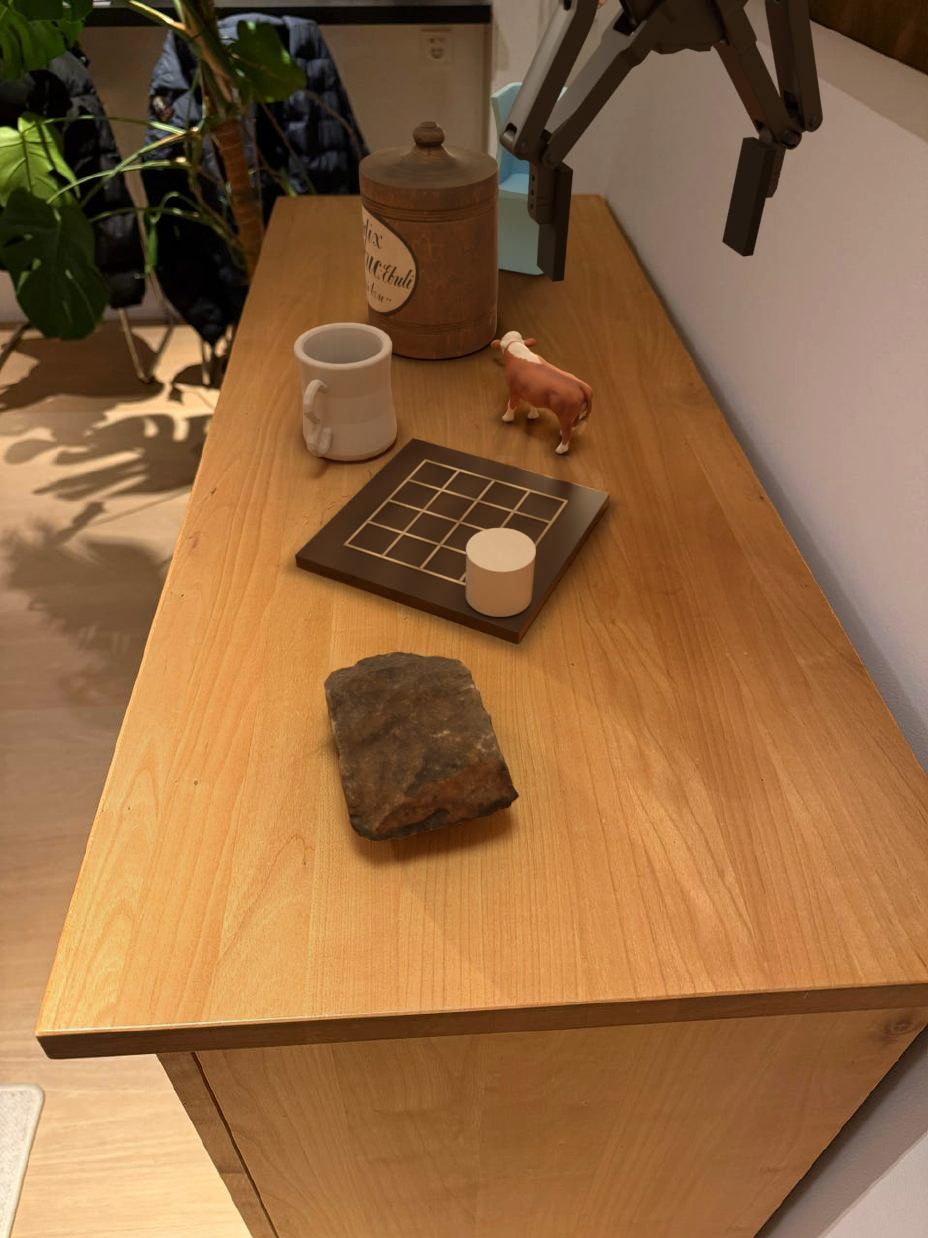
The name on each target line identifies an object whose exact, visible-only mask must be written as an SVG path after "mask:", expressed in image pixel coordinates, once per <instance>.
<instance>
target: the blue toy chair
mask: <svg viewBox="0 0 928 1238" xmlns="http://www.w3.org/2000/svg"><path fill="white" fill-rule="evenodd" d="M522 83H523V81H517V82H516V81H515V82H510V83H508V84H507V85H505V86H503V87H502V88H501V89H499V90H498V91H496V92H494V93H493V94H492V95H490V97H489V98H490V103H491V107H492V111H493V116H494V121H495V129H496V144H497V145H496V154H495V158H494V159H495V160H496V161H497V162H498V165H499V198H498V270H504V271H509V272H510V271H511V272H516V273H522V274H527V275H534V276H535V275H536V276H537V275H542V274H544V273H543V272H542V270H541V269H540V268H539V267H538V266H537V251H538V236H539V225H538V224H537V223H536V222H535V221H534V220H533V219H532V218H531V217H530V216H529V213H528V210H527V202H528V184H529V162H528V161H526V160H523V161H522V160H518V159H517V158H516V157H515V156H513V155H512V154H511V153H510V152H509V151H507V150H506V149H505V148H504V147H503V146H502V145H501V144H500V141H499V135H500V132H501V130H502V128H503V125H504V123H505V121H506V119H507V116H508V114H509V112H510V110H511V107H512V105H513V103H514V101H515V98H516V96H517V94H518V92H519V89H520V87H521V85H522ZM567 88H568V86H564V87H563V89H562V91H561V94H560V96H559V98H558V100H557V102H558V101H559V99H560V98H561V96H562V95H563V94H564V92H565V91H566V90H567ZM557 102H556V103H557ZM555 105H556V104H555ZM562 162H564V160H563V161H562Z"/></svg>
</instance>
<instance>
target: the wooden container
mask: <svg viewBox="0 0 928 1238" xmlns="http://www.w3.org/2000/svg"><path fill="white" fill-rule="evenodd" d="M446 132H447V131H446V130H445V129H444V127H443V126H441V125H440V124H438V123H437V122H436V121H434V120H424V121H421V122H420V123H419V124H418V125H417V126H415V127H414V128H413V130H412V138H413V141H414V144H411V145H401V146H395V147H389V148H384V149H381V150H378V151H376V152H373V153H370V154H368V155H367V156H365V157H364V158H363V159H362V160H361V161H360V162H359V165H358V179H359V180H358V181H359V191H360V192H359V193H360V200H361V209H362V210H361V212H362V213H361V214H362V215H361V216H362V231H363V251H364V252H363V253H364V257H363V258H364V271H365V272H364V274H365V275H364V276H365V288H366V300H367V310H368V325H369V326H373V327H376V328H378V329H380V330H382V331H383V332H385V333H386V334H387V335H388V336H389V337H390V339H391V341H392V354H396V355H399V356H404V357H407V358H414V359H420V360H421V359H422V360H443V359H451V358H458V357H462V356H466V355H469V354H471V353H472V354H473V353H475V352H477V351H479V350H481V349H483V348H484V347H486V346H488V345H489V344H491V343H492V342H493V340H494V338H495V337H496V333H497V325H498V324H497V323H498V297H499V295H498V294H499V269H498V198H499V165H498V162H497V161H496V160H495V159H496V158H494V157H493V156H492V155H490V154H489V153H487V152H484V151H481V150H478V149H474V148H469V147H463V146H458V145H448V144H447V145H446V144H444V143H445V140H446V137H447V133H446Z"/></svg>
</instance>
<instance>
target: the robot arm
mask: <svg viewBox="0 0 928 1238" xmlns="http://www.w3.org/2000/svg"><path fill="white" fill-rule="evenodd" d="M607 1H608V0H558V1H557V4H556V6H555V8H554V10H553V13H552V15H551V17H550V20H549V22H548V24H547V26H546V29H545V31H544V33H543V34H542V35H543V36H542V38H541V39H540V42H539V44H538V46H537V49H536V51H535V53H534V56H533V58H532V60H531V62H530V65H529V67H528V70H527V71H526V74H525V76H524V78H523V80H522V82H523V83H522V85H521V87H520V89H519V92H518V94H517V96H516V98H515V101H514V103H513V105H512V107H511V110H510V112H509V114H508V116H507V119H506V121H505V123H504V125H503V128H502V130H501V132H500V135H499V141H500V144H501V145H502V146H503V147H504V148H505V149H506V150H507V151H509V152H510V153H511V154H512V155H513V156H515V157H516V158H517V159H518V160H522V161H523V160H526V161H528V162H529V184H528V202H527V210H528V213H529V216H530V217H531V218H532V219H533V220H534V221H535V222H536V223H537V224H538V225H539V236H538V251H537V266H538V267H539V268H540V269H541V270H542V272H543V274H544V275H545V276H546V277H547V278H548V279H549V280H550V281H551V282H552V283H556V282H563V281H565V270H566V260H567V248H568V238H569V237H568V236H569V225H570V214H571V203H572V202H571V201H572V192H573V191H572V190H573V180H574V179H573V178H574V169H573V168H571V167H570V166H569V165H568V164H566V163H565V162H564V159H565V158H566V157H567V156H568V154H569V153H570V152H571V151H572V149H573V148H574V147H575V145H576V143H577V142H578V141H579V140H580V138H582V136H583V135H584V133H585V132H586V130H587V129H588V128H589V126H590V125H591V124H592V122H593V121H594V119H596V117H597V116H598V114H599V113H600V112H601V110H603V108H604V106H605V105H606V104H607V103H608V101H609V100H610V99H611V98H612V96H613V94H615V92H616V90H617V89H618V88H619V87H620V85H621V84H622V83H623V81H624V80H625V79H626V78H627V76H628V75H629V73H630V72H631V71H632V70H633V68H635V67H637V66H640V65H641V64H642V63H643V62H644V61H645V60H646V58H647V57H648V55H649V54H650V53H651V52H655V53H657V54H659V55H663V56H664V55H674V54H676V53H679V52H681V51H684V50H690V51H694V52H697V53H706V52H711V50H712V48H713V49H714V50H715V51H716V52H717V54H718V57H719V59H720V60H721V63H722V64H723V67H724V69H725V70H726V72H727V74H728V76H729V78H730V81H731V83H732V85H733V87H734V89H735V90H736V92H737V95H738V97H739V98H740V101H741V103H742V104H743V107H744V109H745V111H746V113H747V115H748V117H749V119H750V121H751V123H752V125H753V127H754V129H755V131H756V133H757V135H758V138H757V137H755V136H747V137H742V141H741V147H740V152H739V158H738V161H737V167H736V171H735V177H734V181H733V185H732V191H731V196H730V200H729V206H728V209H727V210H728V211H727V216H726V222H725V225H724V230H723V234H722V239H721V242H722V243H723V244H725V245H726V246H727V247H728V248H730V249H732V250H733V251H734V252H736V253H737V254H738V255H740V256H742V257H743V258H745V257H752V256H754V253H755V249H756V244H757V239H758V236H759V231H760V227H761V222H762V217H763V213H764V209H765V205H766V201H767V199H771V198H774V195H775V193H776V192H777V190H778V186H779V182H780V177H781V172H782V168H783V164H784V160H785V156H786V152H787V150H789V151H793V150H795V149H796V148H798V146H799V145H800V144H801V143H802V140H803V139H802V138H803V133H805V132H808V133H814V132H816V131H818V129H819V128H821V126H822V123H823V122H824V121H823V120H824V115H823V114H824V113H823V106H822V100H821V93H820V91H821V90H820V87H819V86H820V85H819V78H818V71H817V70H818V69H817V64H816V55H815V49H814V40H813V34H812V26H811V19H810V12H809V4H808V0H764V10H765V16H766V22H767V28H768V33H769V34H768V35H769V38H770V45H771V51H772V57H773V63H774V70H775V75H776V81H777V87H778V89H777V87H776V85H775V83H774V81H773V78H772V76H771V74H770V72H769V70H768V67H767V66H766V63H765V61H764V59H763V56H762V55H761V52H760V50H759V48H758V45H757V41H758V37H757V35H756V32H755V30H754V28H753V26H752V24H751V22H750V19H749V17H748V15H747V13H746V11H745V9H744V8H745V6H746V5H747V4H748V2H749V0H618V2H619V4H620V6H621V7H620V9H618V11H617V12H616V14H615V15H614V17H613V18H612V20H611V21H609V23H608V25H607V26H606V28H605V29H604V30H603V32H602V34H601V36H600V43H599V44H598V46H596V48H595V50H594V51H593V52H592V54H591V55H590V57H589V58H588V59H587V61H586V62H585V64H584V65H583V66H582V68H581V69H580V71H579V72H578V73H577V74H576V76H575V77H574V78H573V80H572V81H571V83H570V84H569V85H568V86H567V90H566V91H565V92H564V94H563V95H562V96H561V98H560V99H559V101H558V102H557V100H558V98H559V96H560V94H561V91H562V89H563V87H565V85H566V83H567V81H568V78H569V77H570V74H571V72H572V70H573V68H574V66H575V64H576V62H577V59H578V57H579V55H580V53H581V51H582V49H583V46H584V44H585V42H586V40H587V38H588V35H590V32H591V29H592V26H593V24H594V21H595V18H596V15H597V11H598V10H599V9H600V8H602V7H603V6H604V5H605V4H606V3H607ZM556 102H557V103H556ZM555 104H556V105H555ZM562 161H563V162H562Z"/></svg>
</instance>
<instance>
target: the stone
mask: <svg viewBox="0 0 928 1238" xmlns="http://www.w3.org/2000/svg"><path fill="white" fill-rule="evenodd" d="M323 687H324V691H325V692H324V695H325V702H326V709H327V713H328V717H329V721H330V727H331V733H332V739H333V745H334V749H335V754H336V757H337V759H338V760H339V762H338V770H339V775H340V776H339V777H340V782H341V788H342V792H343V795H344V798H345V805H346V808H347V812H348V817H349V824H350V826H351V829H352V830H353V831H354V832H355V833H356V834H357V836H358V837H361V838H363V839H366V840H367V841H369V842H375V843H379V842H384V841H386V840H399V841H400V840H404V839H405V838H408V837H410V836H413V835H418V834H421V833H425V832H429V831H434V830H439V829H444V828H447V827H449V826H456V825H461V824H463V823H467V822H471V821H474V820H479V819H481V818H488V817H490V816H493V815H494V814H496V813H497V812H499V811H501V810H505V809H510V807H511V806H512V804H513V803H514V802H515V801H516V800H518V798H519V797H520V794H519V792H518V790H517V789H516V788H515V786H514V782H513V778H512V776H511V774H510V769H509V767H508V764H507V763H506V759H505V757H504V755H503V753H502V751H501V749H500V745H499V741H498V739H497V736H496V733H495V729H494V728H493V722H492V716H491V715H490V713H488V712H487V710H486V708H485V706H484V704H483V699H482V695H481V692H480V690H479V689H478V688H477V686H476V683H475V681H474V680H473V676H472V672H471V670H470V669H468V668H467V667H466V666H465V665H464V663H463V662H462V661H461V660H459V659H457V658H449V657H445V656H441V655H420V654H417V653H413V652H403V651H394V652H388V653H383V654H376V655H375V654H374V655H372V656H367V657H364V658H362V659H359V660H357V661H356V663H355V664H354V665H352V666H348V667H341V668H337V669H336V670H333V671H331V672H330V673H329V675H328V676H327V677H326V678H325V681H324V682H323Z"/></svg>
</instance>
